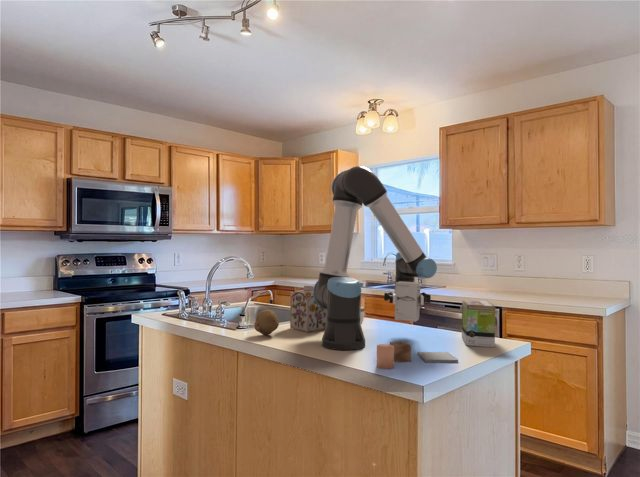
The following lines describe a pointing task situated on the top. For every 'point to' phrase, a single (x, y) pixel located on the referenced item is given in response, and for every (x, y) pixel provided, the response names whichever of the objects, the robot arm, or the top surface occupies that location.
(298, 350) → the top surface
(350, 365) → the top surface
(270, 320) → the natural sponge
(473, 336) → the tea box
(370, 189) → the robot arm
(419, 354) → the slate tile
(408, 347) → the walnut block
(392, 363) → the peach rounded cylinder
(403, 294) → the supplement box
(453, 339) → the top surface
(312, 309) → the decorative jar
